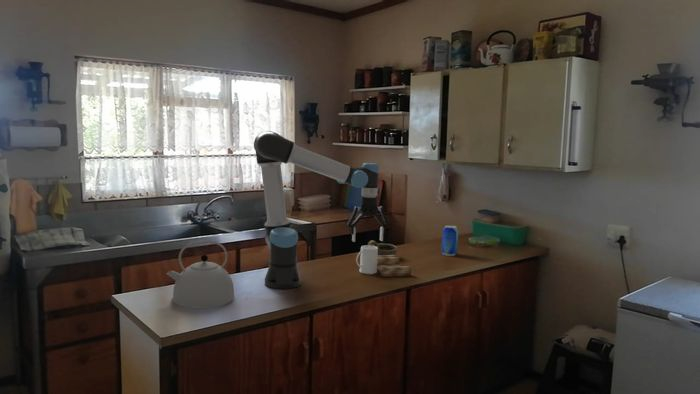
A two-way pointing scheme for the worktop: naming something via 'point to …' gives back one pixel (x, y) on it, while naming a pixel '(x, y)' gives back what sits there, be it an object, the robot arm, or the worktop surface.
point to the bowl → (384, 248)
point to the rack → (391, 266)
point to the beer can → (449, 240)
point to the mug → (368, 259)
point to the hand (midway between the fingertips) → (367, 241)
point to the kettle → (202, 283)
